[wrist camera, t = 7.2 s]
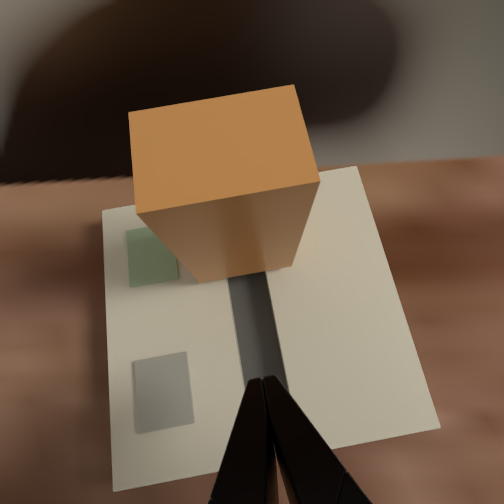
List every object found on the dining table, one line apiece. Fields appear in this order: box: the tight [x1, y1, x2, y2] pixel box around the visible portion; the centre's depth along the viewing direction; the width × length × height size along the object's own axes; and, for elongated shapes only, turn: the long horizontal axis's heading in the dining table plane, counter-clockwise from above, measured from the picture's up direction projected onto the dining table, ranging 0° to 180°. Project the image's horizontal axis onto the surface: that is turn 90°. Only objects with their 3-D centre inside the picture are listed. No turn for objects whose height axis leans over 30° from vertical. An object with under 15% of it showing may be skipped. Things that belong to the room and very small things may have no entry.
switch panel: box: [102, 166, 441, 492], centre depth 16 cm, size 13×14×2 cm
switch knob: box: [129, 85, 321, 283], centre depth 12 cm, size 3×4×9 cm, turn 100°
